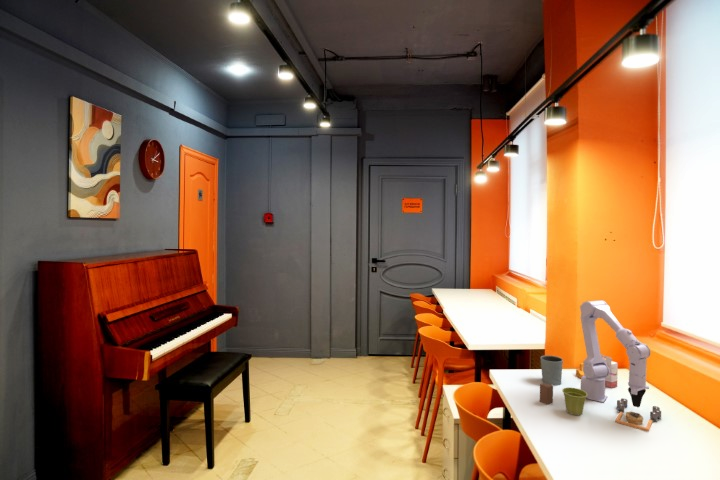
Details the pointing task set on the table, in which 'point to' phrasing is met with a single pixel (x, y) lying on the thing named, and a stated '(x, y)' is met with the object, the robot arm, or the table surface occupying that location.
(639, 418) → the brass nut
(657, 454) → the table surface
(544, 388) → the wooden block
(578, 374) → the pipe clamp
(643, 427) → the orange bay
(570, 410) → the plant pot
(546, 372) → the grey bucket
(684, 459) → the table surface
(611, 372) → the ink cartridge box
